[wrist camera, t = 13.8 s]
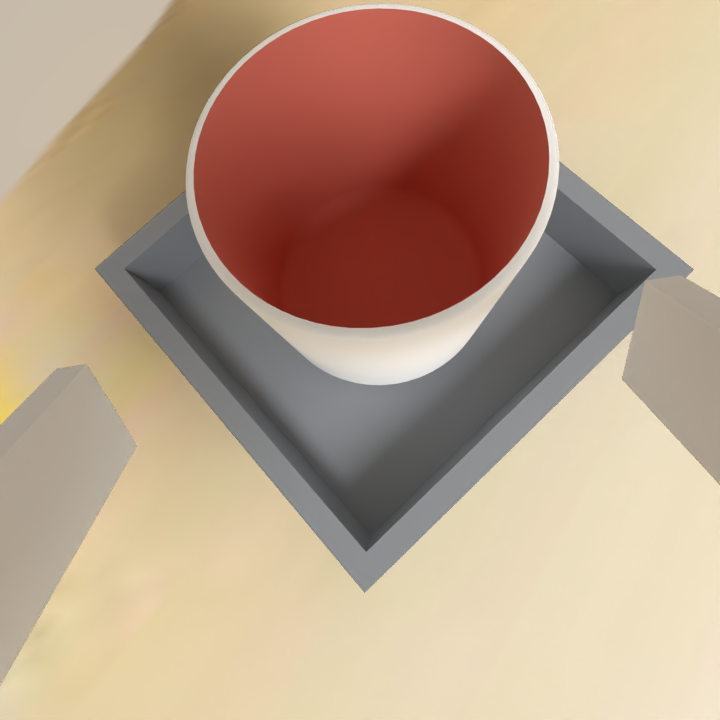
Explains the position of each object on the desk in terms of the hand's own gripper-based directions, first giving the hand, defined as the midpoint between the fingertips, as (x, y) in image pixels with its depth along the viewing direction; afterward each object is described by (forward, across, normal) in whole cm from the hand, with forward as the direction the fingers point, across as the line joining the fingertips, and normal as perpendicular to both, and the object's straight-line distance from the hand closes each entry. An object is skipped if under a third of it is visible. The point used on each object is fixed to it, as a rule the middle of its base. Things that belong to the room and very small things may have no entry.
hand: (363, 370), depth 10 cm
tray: (+11, +1, -4) cm, 12 cm away
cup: (+11, +1, -3) cm, 11 cm away
